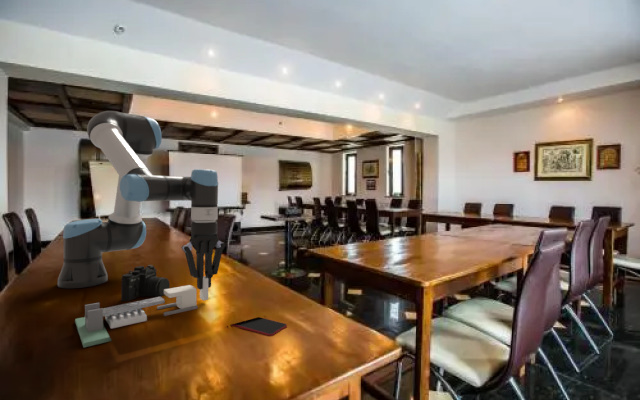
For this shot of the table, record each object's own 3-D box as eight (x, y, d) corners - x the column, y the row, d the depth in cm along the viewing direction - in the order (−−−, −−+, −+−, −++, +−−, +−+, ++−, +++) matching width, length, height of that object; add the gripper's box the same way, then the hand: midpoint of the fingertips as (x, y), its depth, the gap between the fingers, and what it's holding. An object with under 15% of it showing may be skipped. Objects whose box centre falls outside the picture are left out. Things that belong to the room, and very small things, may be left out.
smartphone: (271, 334, 81) (225, 322, 88) (271, 338, 81) (225, 325, 88) (288, 324, 87) (243, 313, 94) (288, 327, 87) (243, 316, 94)
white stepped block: (163, 308, 96) (163, 289, 95) (190, 303, 101) (190, 284, 100) (169, 313, 92) (169, 293, 92) (196, 307, 97) (196, 288, 97)
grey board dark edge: (92, 319, 81) (91, 315, 81) (89, 315, 84) (89, 310, 84) (164, 303, 92) (164, 299, 91) (160, 299, 95) (160, 295, 94)
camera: (147, 307, 100) (147, 274, 100) (116, 304, 102) (116, 272, 102) (175, 293, 114) (175, 264, 113) (147, 291, 116) (147, 262, 115)
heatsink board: (75, 322, 87) (75, 300, 87) (184, 300, 106) (184, 281, 106) (83, 347, 74) (83, 320, 74) (206, 317, 92) (207, 296, 92)
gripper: (187, 223, 93) (186, 307, 94) (230, 221, 102) (229, 297, 102) (177, 221, 99) (177, 300, 99) (219, 219, 107) (219, 291, 108)
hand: (204, 298), depth 101 cm, fingers closed
